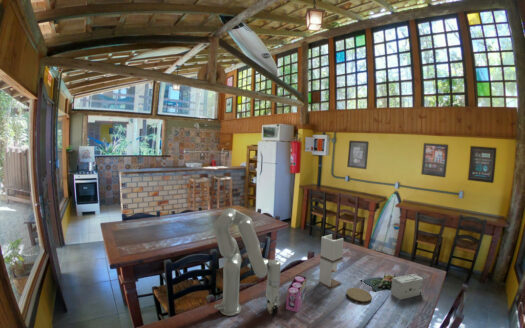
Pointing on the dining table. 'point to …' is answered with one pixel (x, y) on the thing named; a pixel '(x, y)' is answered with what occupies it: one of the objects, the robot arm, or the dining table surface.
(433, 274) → the dining table surface
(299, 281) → the gum box
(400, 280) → the concrete block
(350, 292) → the tan round disc
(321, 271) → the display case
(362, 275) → the dining table surface
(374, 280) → the plated dish
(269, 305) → the ash cube
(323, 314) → the dining table surface
